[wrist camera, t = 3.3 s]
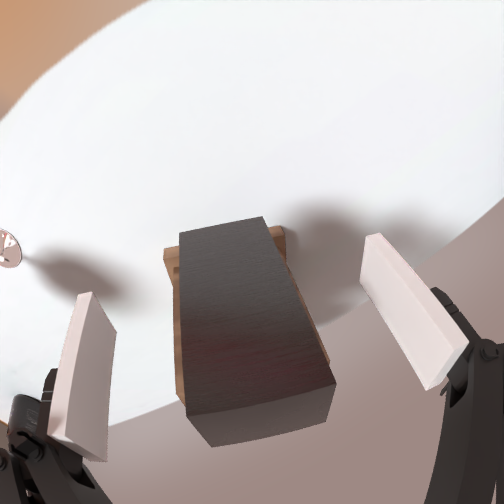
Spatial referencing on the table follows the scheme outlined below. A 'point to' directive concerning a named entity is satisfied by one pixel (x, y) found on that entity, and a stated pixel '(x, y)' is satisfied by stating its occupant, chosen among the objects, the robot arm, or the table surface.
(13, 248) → the wineglass
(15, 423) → the supplement bottle
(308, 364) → the grey hammer
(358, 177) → the table surface
